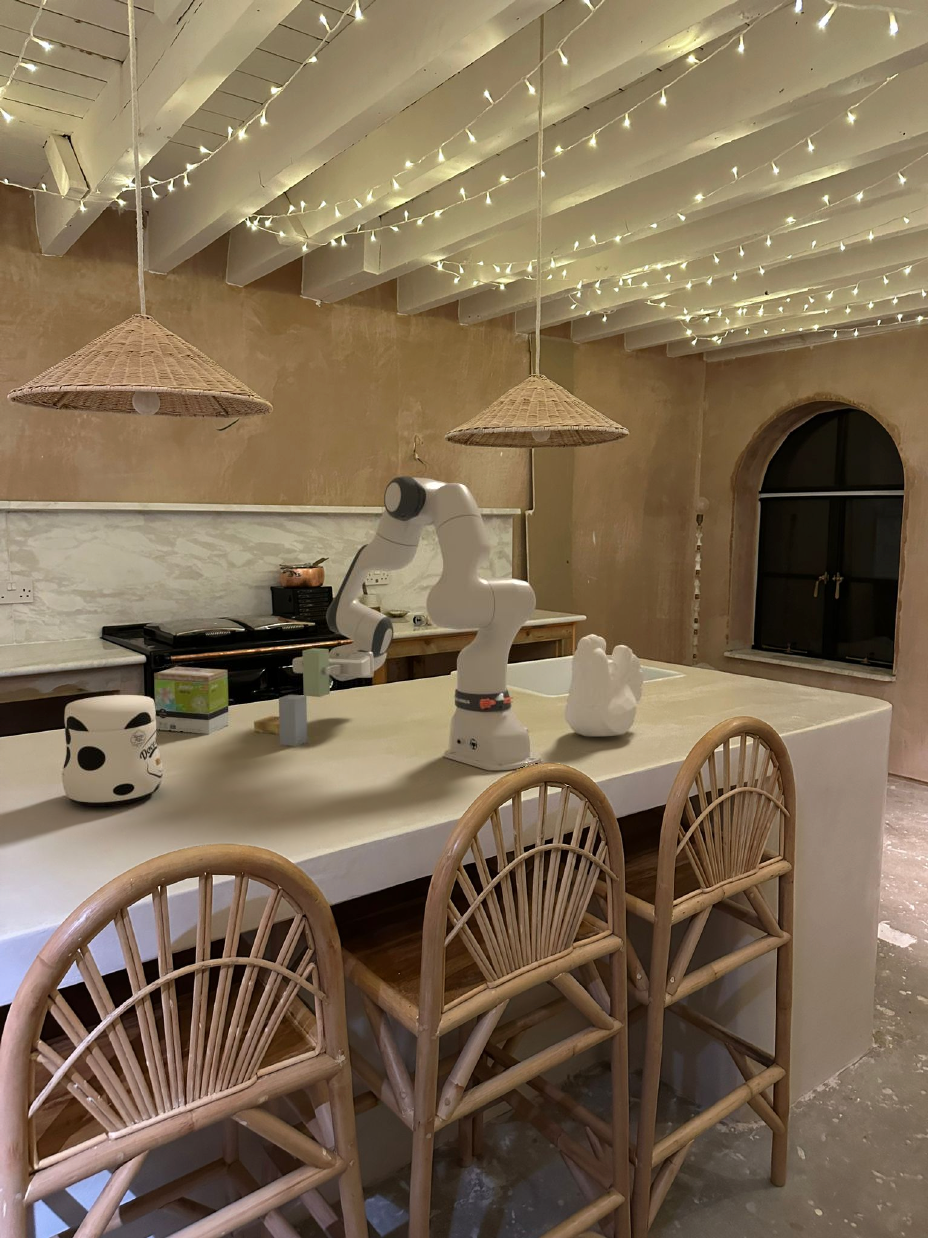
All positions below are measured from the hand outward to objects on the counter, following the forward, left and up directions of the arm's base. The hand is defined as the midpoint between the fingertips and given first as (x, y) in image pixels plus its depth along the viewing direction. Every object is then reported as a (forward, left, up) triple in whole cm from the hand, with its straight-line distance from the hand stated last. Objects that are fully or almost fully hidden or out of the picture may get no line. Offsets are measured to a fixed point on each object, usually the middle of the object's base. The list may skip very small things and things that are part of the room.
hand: (314, 670), depth 207 cm
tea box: (+21, +24, -16) cm, 36 cm away
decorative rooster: (-37, -62, -16) cm, 74 cm away
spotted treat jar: (-27, +50, -16) cm, 59 cm away
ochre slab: (+9, +7, -16) cm, 19 cm away
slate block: (-6, +8, -16) cm, 18 cm away
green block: (0, -1, -6) cm, 6 cm away
